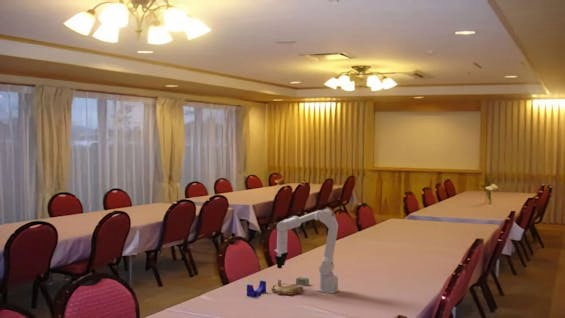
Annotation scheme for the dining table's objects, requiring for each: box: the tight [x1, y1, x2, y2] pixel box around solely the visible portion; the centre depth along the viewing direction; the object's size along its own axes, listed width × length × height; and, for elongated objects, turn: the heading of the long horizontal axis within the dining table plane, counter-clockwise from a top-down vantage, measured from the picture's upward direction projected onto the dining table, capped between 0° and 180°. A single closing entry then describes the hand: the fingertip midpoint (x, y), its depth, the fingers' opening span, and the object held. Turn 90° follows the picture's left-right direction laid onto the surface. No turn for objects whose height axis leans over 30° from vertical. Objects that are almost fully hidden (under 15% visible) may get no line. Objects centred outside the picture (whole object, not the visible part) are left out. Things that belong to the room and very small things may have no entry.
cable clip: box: [246, 280, 267, 298], centre depth 295 cm, size 12×4×6 cm, turn 141°
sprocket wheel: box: [271, 279, 304, 296], centre depth 301 cm, size 17×17×5 cm
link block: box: [295, 276, 310, 287], centre depth 315 cm, size 6×4×4 cm, turn 55°
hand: (280, 266), depth 309 cm, fingers open, 7 cm apart
